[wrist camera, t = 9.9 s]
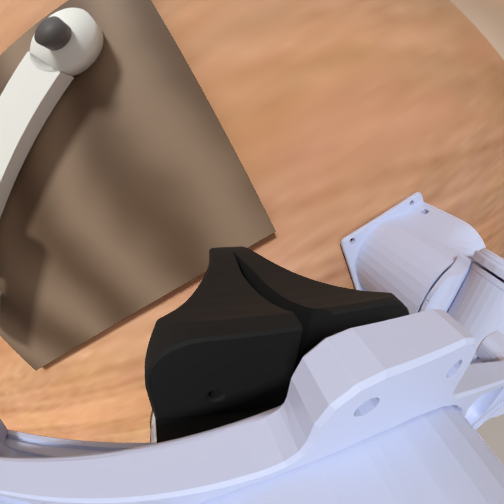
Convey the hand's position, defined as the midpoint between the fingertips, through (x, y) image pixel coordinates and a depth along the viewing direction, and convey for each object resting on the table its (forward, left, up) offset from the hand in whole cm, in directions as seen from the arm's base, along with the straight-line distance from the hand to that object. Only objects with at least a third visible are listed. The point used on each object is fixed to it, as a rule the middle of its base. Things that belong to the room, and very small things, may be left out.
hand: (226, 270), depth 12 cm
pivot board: (+9, -7, -9) cm, 15 cm away
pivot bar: (+8, -11, -8) cm, 16 cm away
